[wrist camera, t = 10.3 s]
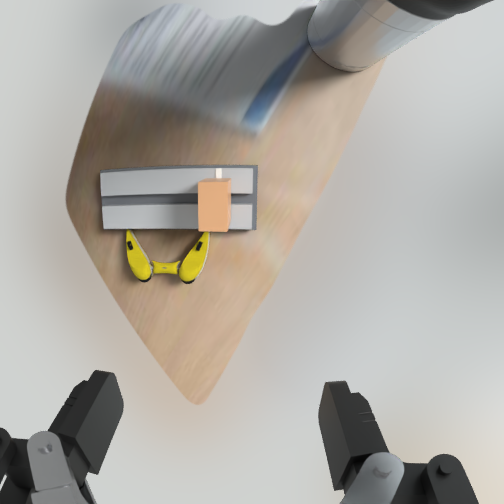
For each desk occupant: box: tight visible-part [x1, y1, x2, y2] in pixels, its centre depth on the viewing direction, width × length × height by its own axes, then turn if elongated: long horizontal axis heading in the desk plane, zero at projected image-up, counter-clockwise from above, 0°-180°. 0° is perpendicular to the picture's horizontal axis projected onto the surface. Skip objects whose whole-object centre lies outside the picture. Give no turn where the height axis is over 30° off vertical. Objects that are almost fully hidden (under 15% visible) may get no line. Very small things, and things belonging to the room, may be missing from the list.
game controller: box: [126, 229, 210, 284], centre depth 35 cm, size 10×6×4 cm, turn 89°
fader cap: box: [198, 178, 231, 232], centre depth 30 cm, size 3×4×6 cm, turn 179°
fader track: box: [100, 165, 258, 230], centre depth 33 cm, size 18×7×3 cm, turn 89°
